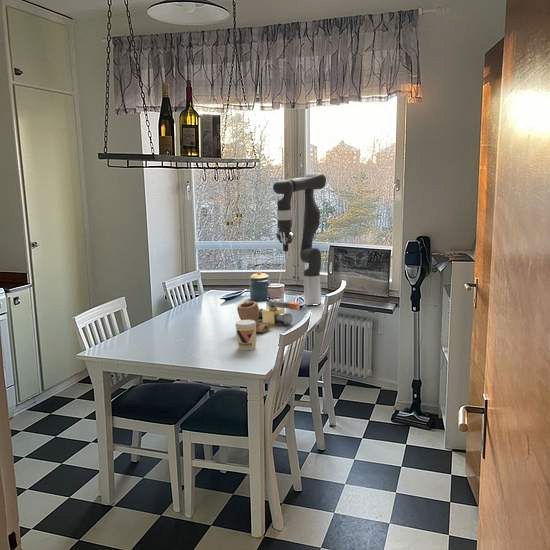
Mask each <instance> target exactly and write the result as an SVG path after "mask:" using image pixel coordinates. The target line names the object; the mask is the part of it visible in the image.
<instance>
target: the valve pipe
mask: <svg viewBox="0 0 550 550" xmlns="http://www.w3.org/2000/svg"><path fill="white" fill-rule="evenodd" d="M258 321H259V323H262V324H270V325H271V326H280V327H283V326H288V327H289V326H290V325H292V322H293V315H292V314H291V313H290V312H286V313H285V308H280V307H269V306H268V307H267V308H260V307H259V317H258Z"/></svg>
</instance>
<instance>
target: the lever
mask: <svg viewBox="0 0 550 550" xmlns="http://www.w3.org/2000/svg"><path fill="white" fill-rule="evenodd" d="M267 301H268V302H267V305H268V308H269V307H278V308H284V309H288V310H293V311H294V310H295V311H298V310H300V309H301V308H300V306H301V305H300V302H294V301H291V302H290V301H280V300H276V299H269V300H267Z"/></svg>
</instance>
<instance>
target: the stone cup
mask: <svg viewBox="0 0 550 550" xmlns="http://www.w3.org/2000/svg"><path fill="white" fill-rule="evenodd" d="M259 308H260V307H259V304H258V303H257V301H253V300H250V301H249V302H247V301H244V302H242V303H240V304H238V305H237V314H238V318H239V319H240V320H254V321H255V322H256V333H266V332H267V331H269V330H270V329H271V327H272V325H270V324H263V323H261V322H259V320H258V317H259Z"/></svg>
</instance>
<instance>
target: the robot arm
mask: <svg viewBox="0 0 550 550" xmlns="http://www.w3.org/2000/svg"><path fill="white" fill-rule="evenodd" d="M326 184H327V178H326V175H325V174H324V173H322V172H308V173H306V174H305V176H304V177H295V178H290V179H281V180H276V181H275V182H274V183H273V185H272V189H273V192H274V193H275V194H276V195H277V194H278V195H283V197H282V198H279V199H278V200H277V201H276V203H277V204H276V205H277V208H276V209H277V214H276V215H277V218H276V219H277V229H278V232H277V233H276V234H275V235H276V237H277V239H278V241H279V244H282V250H283V252H285V253H286V252H289V245H290V244H292V242H293V240H294V238H295V234H294V233H292V229H291V228H292V227H293V220H292V219H293V218H292V207H291V206H292V205H291V202H292V197H293V193H296V192H299V191H301V192H302V191H304V207H303V208H304V209H303V226H302V229H303V230H302V239H301V245H300V252H299V254H300V255H299V257H300V260H301V261H302V262H303V263H306V264H308V267H307V269H304V271H303V289H304V290H303V293H304V294H303V297H304V305H305V304H306V305H305V306H307V305H313V304H320V303H321V304H322V287H321V274H320V273H321V271H322V270H321V268H322V255H321V254H322V253H321V251H320V249H319V248H317V247H313V240H314V237H315V235H316V233H317V231H318V229H319V227H320V221H321V211H320V208H319V207H318V204H317V203H316V200H315V196H314V190H322V189H324V188H325V187H326ZM321 304H320V305H321Z"/></svg>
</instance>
